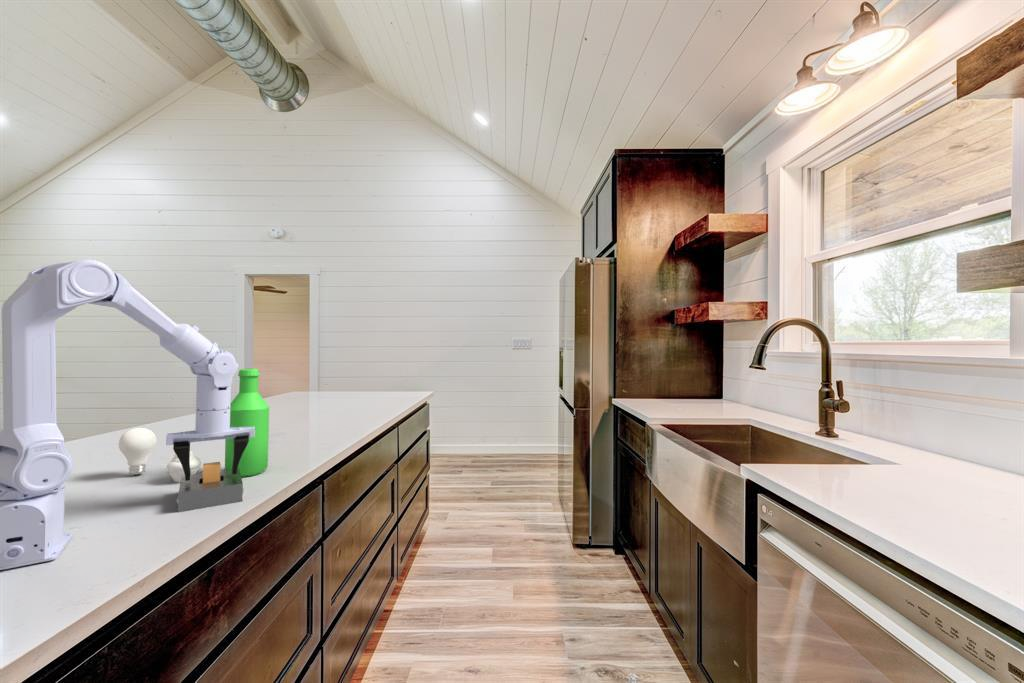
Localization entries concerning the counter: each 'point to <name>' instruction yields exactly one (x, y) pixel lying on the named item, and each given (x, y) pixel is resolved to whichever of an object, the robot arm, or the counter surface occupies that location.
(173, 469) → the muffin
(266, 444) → the bottle
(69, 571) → the counter surface
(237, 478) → the grey slotted block
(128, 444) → the light bulb
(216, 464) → the orange rectangular block
